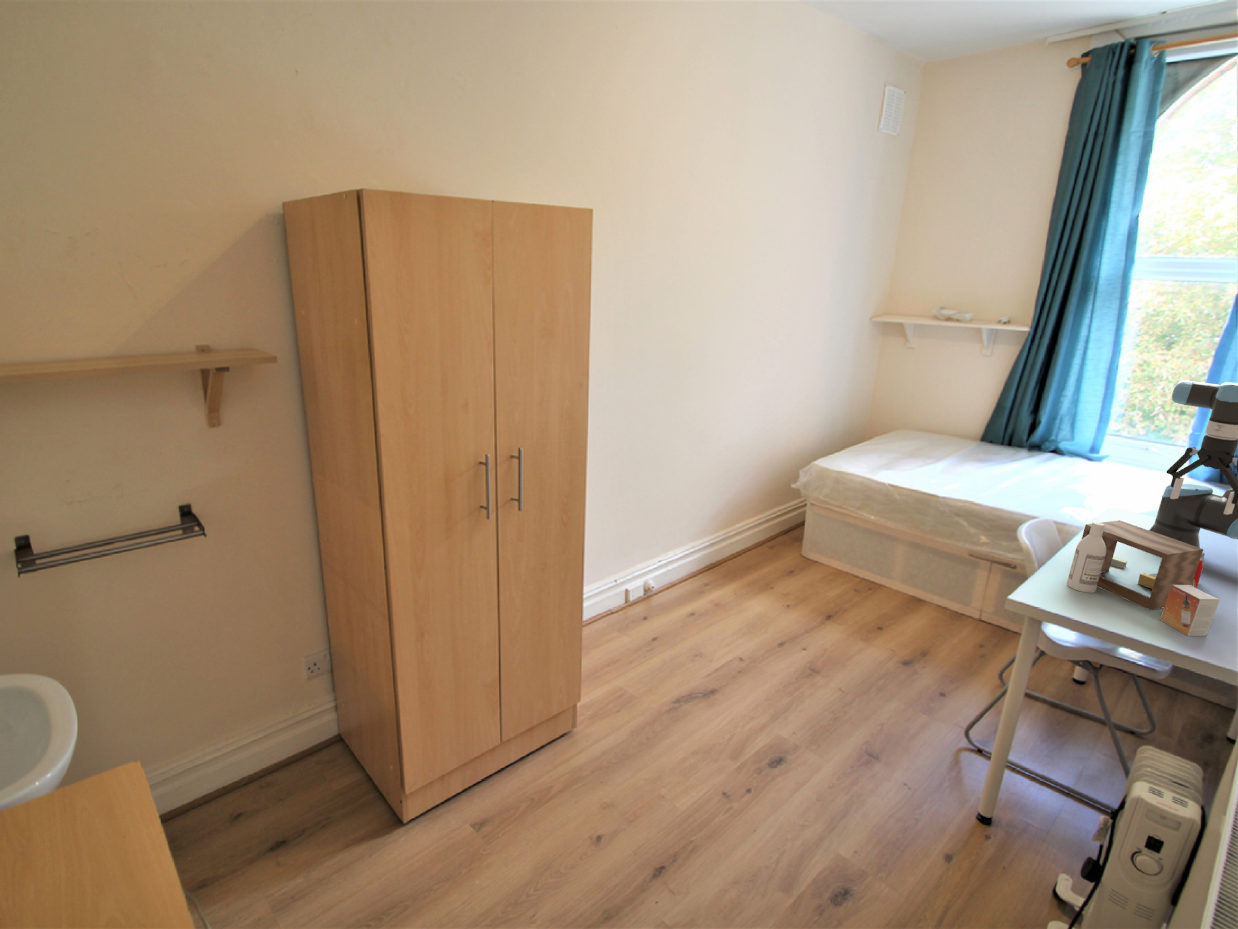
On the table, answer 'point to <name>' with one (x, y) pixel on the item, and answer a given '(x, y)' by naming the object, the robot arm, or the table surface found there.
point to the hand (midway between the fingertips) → (1199, 505)
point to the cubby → (1175, 554)
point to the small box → (1189, 610)
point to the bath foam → (1088, 560)
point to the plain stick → (1118, 562)
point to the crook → (1151, 578)
